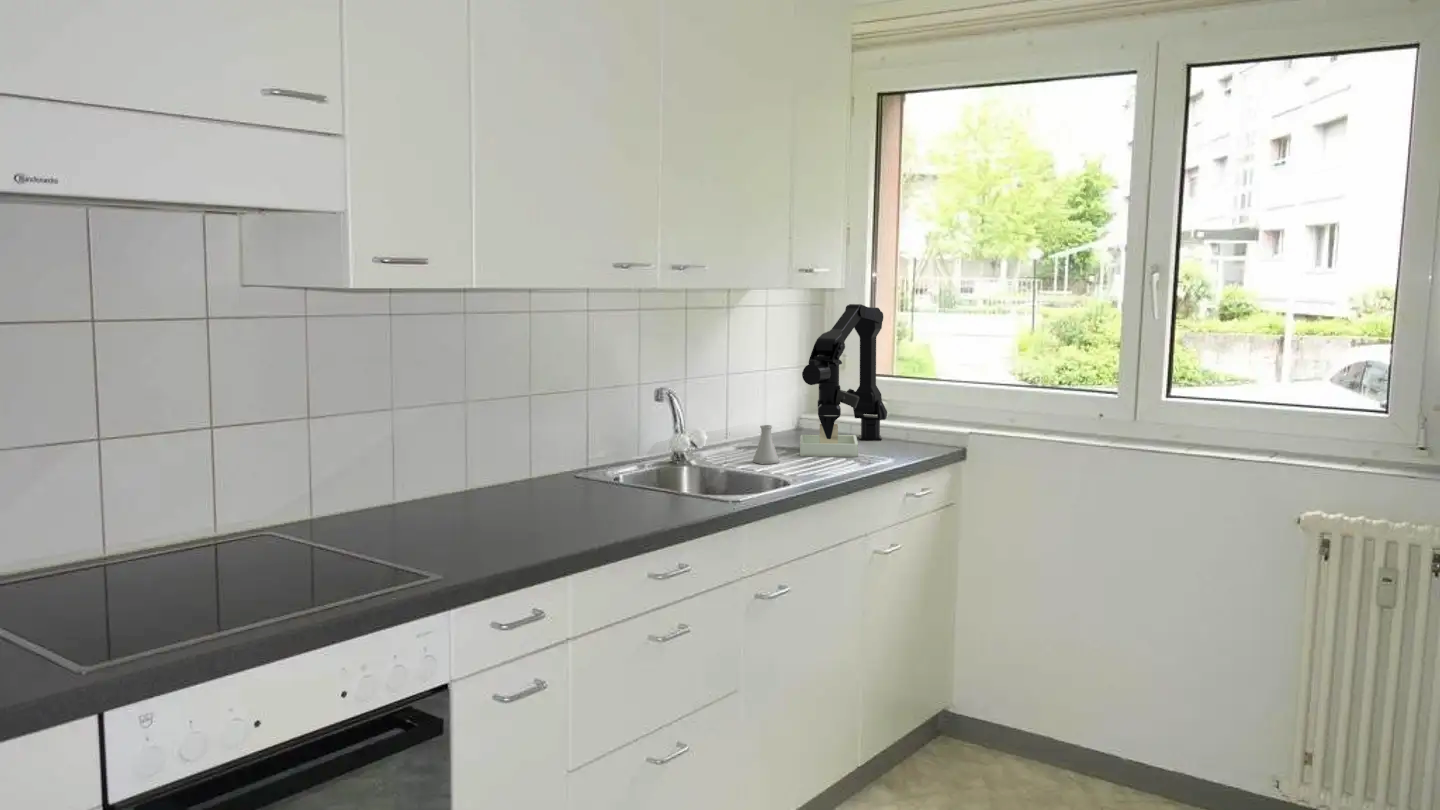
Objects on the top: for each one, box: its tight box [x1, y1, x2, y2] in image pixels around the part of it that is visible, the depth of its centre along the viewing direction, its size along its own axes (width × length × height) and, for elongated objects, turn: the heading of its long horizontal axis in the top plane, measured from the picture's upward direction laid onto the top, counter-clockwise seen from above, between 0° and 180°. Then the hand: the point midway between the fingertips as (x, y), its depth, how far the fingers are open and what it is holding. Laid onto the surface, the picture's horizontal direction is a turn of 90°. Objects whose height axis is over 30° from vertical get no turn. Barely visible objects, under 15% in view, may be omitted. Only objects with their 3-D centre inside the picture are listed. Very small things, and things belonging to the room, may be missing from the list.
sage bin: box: [799, 434, 859, 458], centre depth 319 cm, size 16×16×4 cm
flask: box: [752, 424, 781, 465], centre depth 303 cm, size 7×7×10 cm
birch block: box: [819, 423, 839, 444], centre depth 318 cm, size 5×5×7 cm
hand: (828, 436), depth 318 cm, fingers open, 9 cm apart
